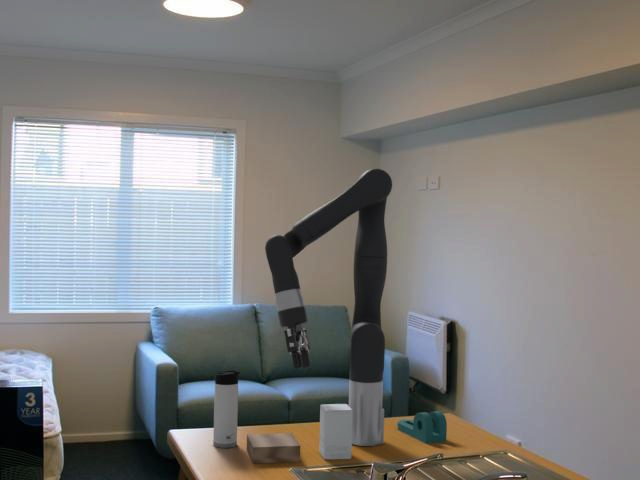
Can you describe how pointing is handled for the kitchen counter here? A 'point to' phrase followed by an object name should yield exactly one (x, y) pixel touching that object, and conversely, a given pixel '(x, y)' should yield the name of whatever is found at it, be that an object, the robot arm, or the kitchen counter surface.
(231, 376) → the travel mug
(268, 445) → the walnut plinth
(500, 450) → the kitchen counter surface
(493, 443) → the kitchen counter surface
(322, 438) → the supplement box
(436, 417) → the bracket
